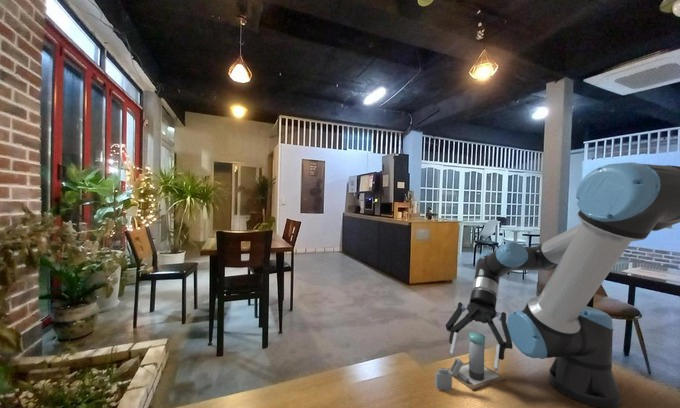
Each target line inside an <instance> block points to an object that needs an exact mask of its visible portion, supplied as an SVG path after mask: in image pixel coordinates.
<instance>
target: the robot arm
mask: <svg viewBox="0 0 680 408" xmlns="http://www.w3.org/2000/svg"><path fill="white" fill-rule="evenodd" d="M575 198H576V199H577V201H576V205H577V207H578V209H579V211H578V213H577V218H578V219H579V220H580V222H581V223H579V224H577V225H575V226H573V227H571V228H570V229H567V230H565V231H564V232H562V233H560V234H558V235H555V236H554V237H551V238H550V239H548V240H546V241H544V242H542V243H540V244H538V245H535V246H523V244H521V243H517V242H516V241H507V242H505V243H504V244H502V245H500V246H499V247H498V248H496V249H495V250H494V251H493V252H492V251H491V252H490V251H486V252H482V253H480V254H479V256H478V258H477V261H476V266H475V267H476V268H475V273H474V278H473V281H472V282H473V283H472V288H471V293H470V299H469V303H468V304H463V303H462V302H458V303H457V308H455V309H456V310H455V311H454V313H453V314H452V315H451V317H449V320H448V321H447V322H446V324H445V329H446V331H448V332H449V339H448V342H449V344H450V350H449V355H450V357H451V358H455V355H456V349H457V344H458V340H459V335H458V333H459V332H460V331H462V329H464V328H465V327H466V326H467V325H468V324H470V323H472V322H473V321H474V322H478V323H479V322H480V323H482V324H485V325H486V324H487V325H488V327H489V329H490V330H491V332H492V334H493V336H494V338H495V339H496V342H497V343H496V348H495V356H494V364H493V371H494V372H496V373H498V372H499V371H498V370H499V361H500V360H501V361H504V360H505V351H506V349H509V350H512V349H513V347H514V346H513V345H515V347H516V349H518V351H519V352H520V353H522V354H523V355H524V356H526V357H528V358H531V359H539V360H541V359H544V360H545V359H552V358H554V359H553V361H552V363H551V366H550V368H549V371H548V382H549V383H550V385H552V386H553V388H555V389H556V390H558V391H559V392H560V393H562V394H564V395H565V396H567V397H569V398H571V399H573V400H575V401H578V402H580V403H583V404H584V405H589V406H591V407H595V408H596V407H597V408H619V406H621V404H622V403H621V402H622V401H621V399H622V397H621V391H620V388H619V386H618V382H617V380H616V378H615V376H614V373H613V339H614V338H613V334H614V333H613V332H614V331H615V330H614V328H613V327H614V325H613V318H612V317H611V316H610V315H609V314H608V313H607V312H605V311H603V310H601V309H597V308H594V307H591V306H588V304H589V303H590V301H591V300H592V298H593V297H594V295H595V294H596V292H597V291H598V290H599V288H600V287H601V285H602V284H603V282H605V279H606V278H607V276H608V275H609V274H610V272H611V271H612V270H613V268H614V267H615V266H616V264H617V262H618V261H619V260H620V259H621V257H622V256H623V254H624V252H626V249H628V247H629V246H630V244H631V243H633V242H637V241H638V242H639V241H644V240H646V239H647V237H648V236H649V235H650V234H651V232H657V231H660V230H664V229H665V228H668V227H671V226H674V225H676V224H679V223H680V166H677V165H669V164H667V165H662V164H659V165H658V164H651V163H650V164H647V163H637V162H621V163H619V162H618V163H617V162H616V163H609V164H605V165H602V166H599V167H596V168H595V169H593V170H591V171H590V172H588V173H587V174H586V175H585V176H584V177H583V178H582V180H581V181H580V182H579V184H578V186H577V189H576V193H575ZM552 270H553V272H552V274H551V275H550V277H549V278H548V280H547V283H546V284H545V286H544V287H543V289H542V291H541V293H540V295H539V296H533V297H531V298H529V300H528V301H527V303H526V305H525V306H524V308H523V310H515V311H512V312H510V314H508V317H507V314H506V312H505V311H502V312H499V311H498V312H497V311H496V307H497V300H498V299H497V297H498V291H499V284H500V280H501V277H503V276H505V275H507V274H508V273H511V272H513V271H552ZM466 310H467V313H466V315H465V316H463V318H461V316H462V315H463V313H464V312H466ZM496 317H497V318H498V319H497V320H499V321H500V322H501V328H502V330H503V335H504V338H505V341H504V339H503V337H502V336H501V334H500V332H499V330H498V329H497V326H496V324H495V323H494V319H495V318H496ZM459 318H461V319H460V320H459ZM458 320H459V321H458Z"/></svg>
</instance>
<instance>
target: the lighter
mask: <svg viewBox="0 0 680 408" xmlns="http://www.w3.org/2000/svg"><path fill="white" fill-rule="evenodd" d="M462 364H464V363H463V361H462V360H461V359H460V358H457V357H455V358H454V361H453V363H452V365H451V366H450V368H451V369H450V371H448V370H447V368H446V367H439V369H438V370H435V371H434V372H435V373H434V387H436V388H437V389H439V390H438V391H452V389H453V388H452V386H453V376H452V374H453V375H455V376H457V374H458V372H459V370H460V368H461V366H462ZM436 388H435V389H436ZM437 389H436V390H437Z"/></svg>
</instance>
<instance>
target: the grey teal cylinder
mask: <svg viewBox="0 0 680 408" xmlns="http://www.w3.org/2000/svg"><path fill="white" fill-rule="evenodd" d="M468 341H469V344H468V346H469V347H468V349H469V350H468V354H469V355H468V362H469V376H470V377H471V378H472V379H474V380H478V381H482V380H484V366H485V348H486V347H485V344H486V336H485V335H484V334H482V333H480V332H475V331H472V332H469V333H468Z"/></svg>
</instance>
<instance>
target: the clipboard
mask: <svg viewBox="0 0 680 408" xmlns="http://www.w3.org/2000/svg"><path fill="white" fill-rule="evenodd" d="M450 369H451V367H448V368H447V370H448V371H450ZM452 378H454V379H456V381H458V382H460V383H461V384H462V385H464V386H465V387H467V388H468V389H469V390H471V391H472V392H474V391H477V390H480V389H482V388H485V387H488V386H492V385H494V384H496V383H499V382H502V381H505V377H504V376H502V375H501V374H499V373H498V372H496V371H494V370H493V369H491V368H489V367H488V366H486V365H484V380H482V381H478V380H474V379H472V378H471V377H470V376H469V361H468V362H465V363H463V364H462V366H461V368H460V370H459V372H458V374H457V376H455V375H453V374H452Z"/></svg>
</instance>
